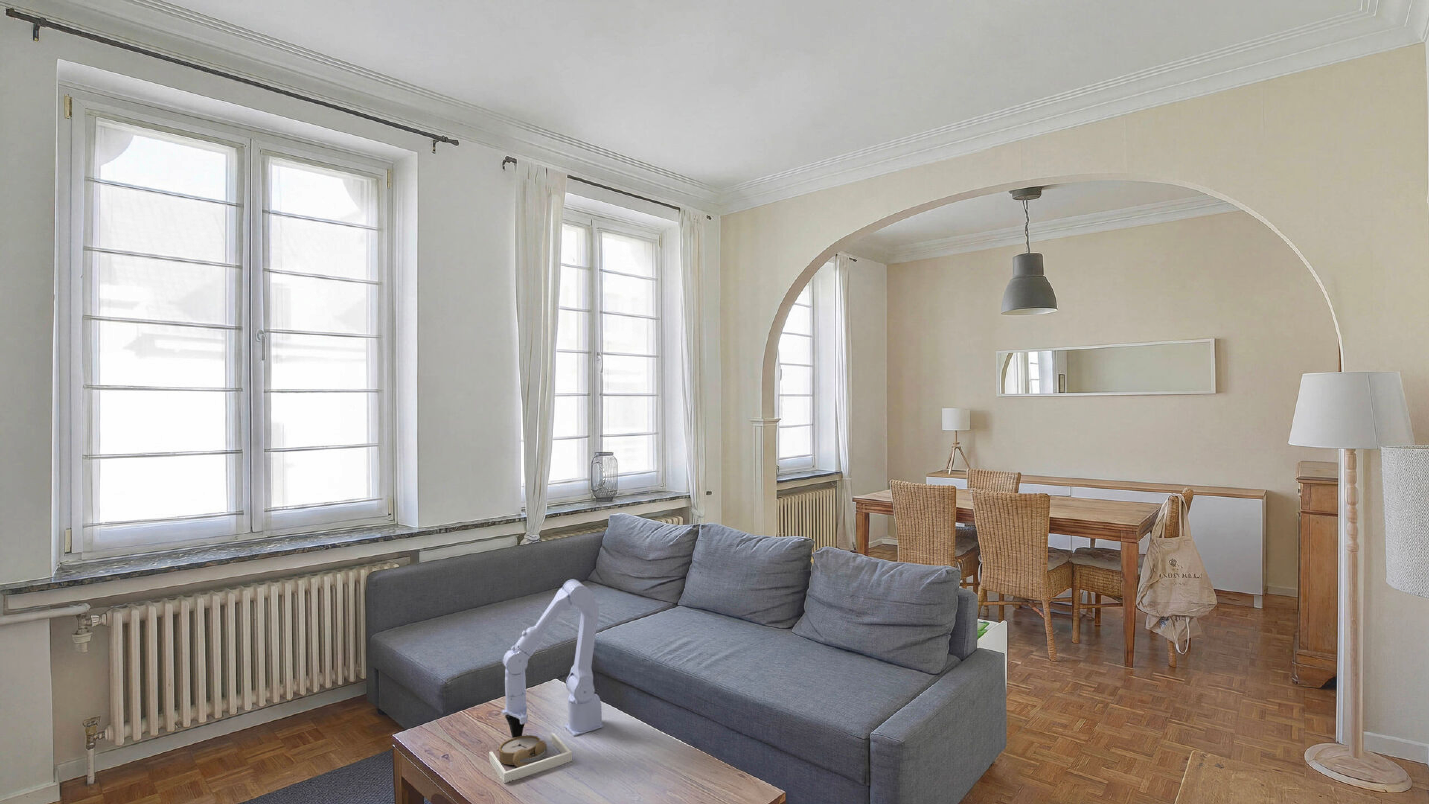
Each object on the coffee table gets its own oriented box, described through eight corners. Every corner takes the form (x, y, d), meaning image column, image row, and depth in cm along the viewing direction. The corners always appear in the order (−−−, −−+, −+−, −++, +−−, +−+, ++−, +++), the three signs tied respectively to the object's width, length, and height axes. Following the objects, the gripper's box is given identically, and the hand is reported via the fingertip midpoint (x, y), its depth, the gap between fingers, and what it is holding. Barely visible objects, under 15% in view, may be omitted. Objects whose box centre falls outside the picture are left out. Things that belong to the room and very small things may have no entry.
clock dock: (554, 741, 202) (553, 732, 202) (572, 761, 191) (571, 752, 191) (489, 761, 192) (489, 752, 192) (504, 783, 180) (503, 773, 180)
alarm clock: (525, 732, 202) (555, 738, 193) (527, 749, 202) (557, 756, 192) (490, 747, 194) (519, 754, 184) (492, 765, 193) (522, 773, 184)
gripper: (494, 687, 205) (496, 733, 205) (509, 705, 193) (510, 753, 193) (518, 681, 209) (519, 726, 209) (534, 698, 197) (535, 746, 197)
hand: (517, 739), depth 201 cm, fingers closed
